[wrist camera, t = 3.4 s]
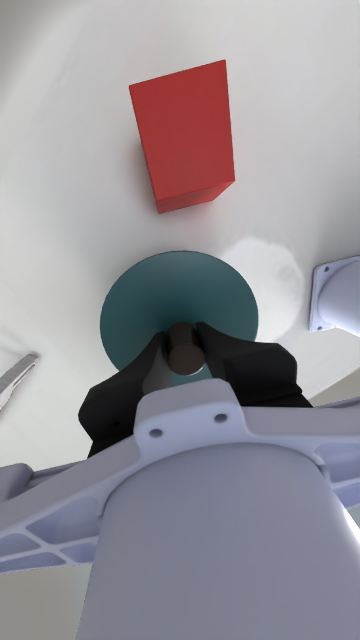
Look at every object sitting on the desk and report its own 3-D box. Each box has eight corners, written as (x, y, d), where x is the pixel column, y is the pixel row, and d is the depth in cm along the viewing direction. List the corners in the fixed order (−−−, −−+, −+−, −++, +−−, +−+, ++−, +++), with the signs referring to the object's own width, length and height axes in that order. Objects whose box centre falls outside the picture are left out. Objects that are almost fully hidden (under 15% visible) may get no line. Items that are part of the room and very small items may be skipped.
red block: (204, 122, 13) (226, 57, 9) (214, 199, 15) (235, 181, 11) (140, 139, 13) (128, 84, 9) (158, 214, 15) (156, 201, 11)
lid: (247, 230, 12) (288, 224, 8) (255, 368, 17) (283, 405, 13) (76, 274, 12) (33, 288, 8) (134, 397, 17) (125, 442, 13)
